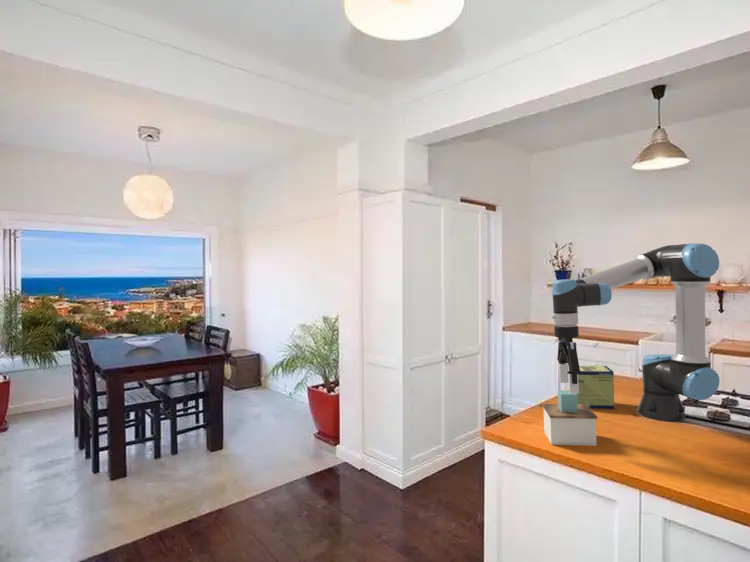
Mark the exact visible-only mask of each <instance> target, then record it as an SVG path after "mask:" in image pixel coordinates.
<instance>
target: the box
mask: <svg viewBox="0 0 750 562" xmlns="http://www.w3.org/2000/svg"><path fill="white" fill-rule="evenodd" d="M587 406H588V407H590V405H587ZM538 407H539V408H543V432H544V434H545V436H546V438H547V437H548V438H547V439H549V440H548V442H549V443H550V444H551V445H552V446H553V445H554V446H593V447H594V446H595V447H597V423H596V422H597V419H579V418H550V417H549V415H548V414H547V412H546V410H545V409H544V407H543V403H541V404H540V403H539V404H538Z"/></svg>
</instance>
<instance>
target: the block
mask: <svg viewBox="0 0 750 562" xmlns="http://www.w3.org/2000/svg"><path fill="white" fill-rule="evenodd" d="M557 404H558V408H559V409H560V411H561V412H578V410H577V394H570V390H567V389H566V390H564V389H563V390H562V389H561V390H557Z"/></svg>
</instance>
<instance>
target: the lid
mask: <svg viewBox="0 0 750 562" xmlns="http://www.w3.org/2000/svg"><path fill="white" fill-rule="evenodd" d="M543 407H544V409H545V410H546V412H547V414H548V415H549V417H550V418H579V419H596V420H597V419H598V416H597V414H595V412H594V411H593V410H592V408H589V407H588V406H587V405H586V404H577V410H578V412H561V411H560V409H559V408H558V403H542V408H543Z"/></svg>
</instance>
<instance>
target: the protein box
mask: <svg viewBox="0 0 750 562" xmlns="http://www.w3.org/2000/svg"><path fill="white" fill-rule="evenodd" d="M579 368H580V373H578V381H579V394H577V404H586V405H590V407H589V408H590V409H597V410H598V409H600V410H601V409H602V410H614V409H615V391H614V390H615V388H614V387H615V380H614V379H615V378H614V376H615V374H614V373H615V372H614V371H613V370H612V369H611V368H610V367H609V366H607V365H579ZM568 389H569V388H568ZM569 390H570V389H569Z"/></svg>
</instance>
